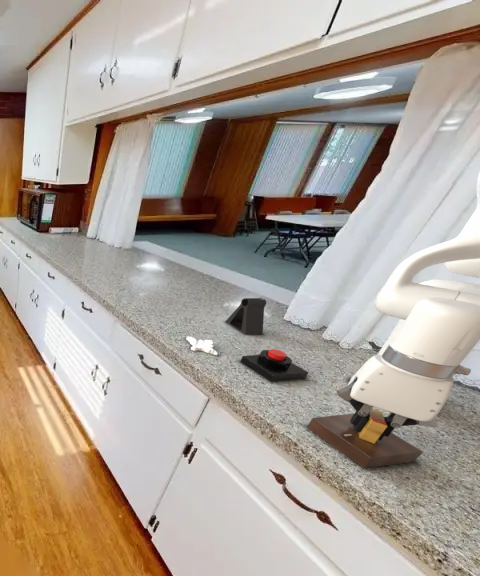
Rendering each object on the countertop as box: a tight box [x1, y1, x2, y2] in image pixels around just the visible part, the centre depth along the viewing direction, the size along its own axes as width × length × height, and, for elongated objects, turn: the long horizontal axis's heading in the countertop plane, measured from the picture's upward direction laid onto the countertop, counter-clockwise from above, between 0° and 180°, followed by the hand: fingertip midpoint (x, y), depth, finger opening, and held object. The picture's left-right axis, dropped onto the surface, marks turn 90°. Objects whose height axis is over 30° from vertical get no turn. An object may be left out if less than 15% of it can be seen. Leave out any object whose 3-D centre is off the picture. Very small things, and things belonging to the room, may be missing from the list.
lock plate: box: [306, 412, 424, 469], centre depth 64 cm, size 12×10×3 cm
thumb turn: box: [358, 408, 387, 444], centre depth 62 cm, size 5×2×5 cm, turn 135°
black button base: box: [240, 349, 309, 382], centre depth 86 cm, size 11×9×4 cm
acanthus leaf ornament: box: [186, 336, 219, 356], centre depth 97 cm, size 8×7×2 cm
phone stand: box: [225, 297, 267, 335], centre depth 106 cm, size 9×6×12 cm, turn 178°
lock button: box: [268, 348, 288, 361], centre depth 86 cm, size 4×4×2 cm
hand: (366, 431), depth 63 cm, fingers closed on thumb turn, 2 cm apart
